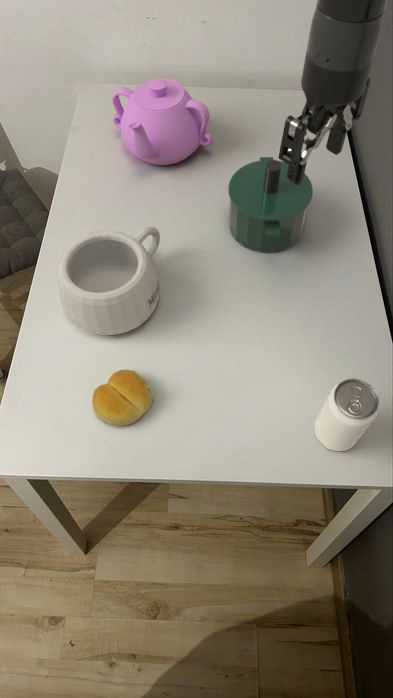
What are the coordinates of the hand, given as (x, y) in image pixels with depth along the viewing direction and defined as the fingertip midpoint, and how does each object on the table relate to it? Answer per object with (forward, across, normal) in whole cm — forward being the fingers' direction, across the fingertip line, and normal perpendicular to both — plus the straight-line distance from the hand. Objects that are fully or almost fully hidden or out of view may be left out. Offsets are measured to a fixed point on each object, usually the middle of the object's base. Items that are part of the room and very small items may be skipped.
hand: (314, 165), depth 70 cm
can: (+22, -19, -25) cm, 38 cm away
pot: (+22, +4, +10) cm, 25 cm away
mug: (+23, -25, +18) cm, 38 cm away
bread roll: (+23, -38, +1) cm, 44 cm away
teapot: (+23, +4, +40) cm, 46 cm away
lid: (+14, +4, +10) cm, 18 cm away
